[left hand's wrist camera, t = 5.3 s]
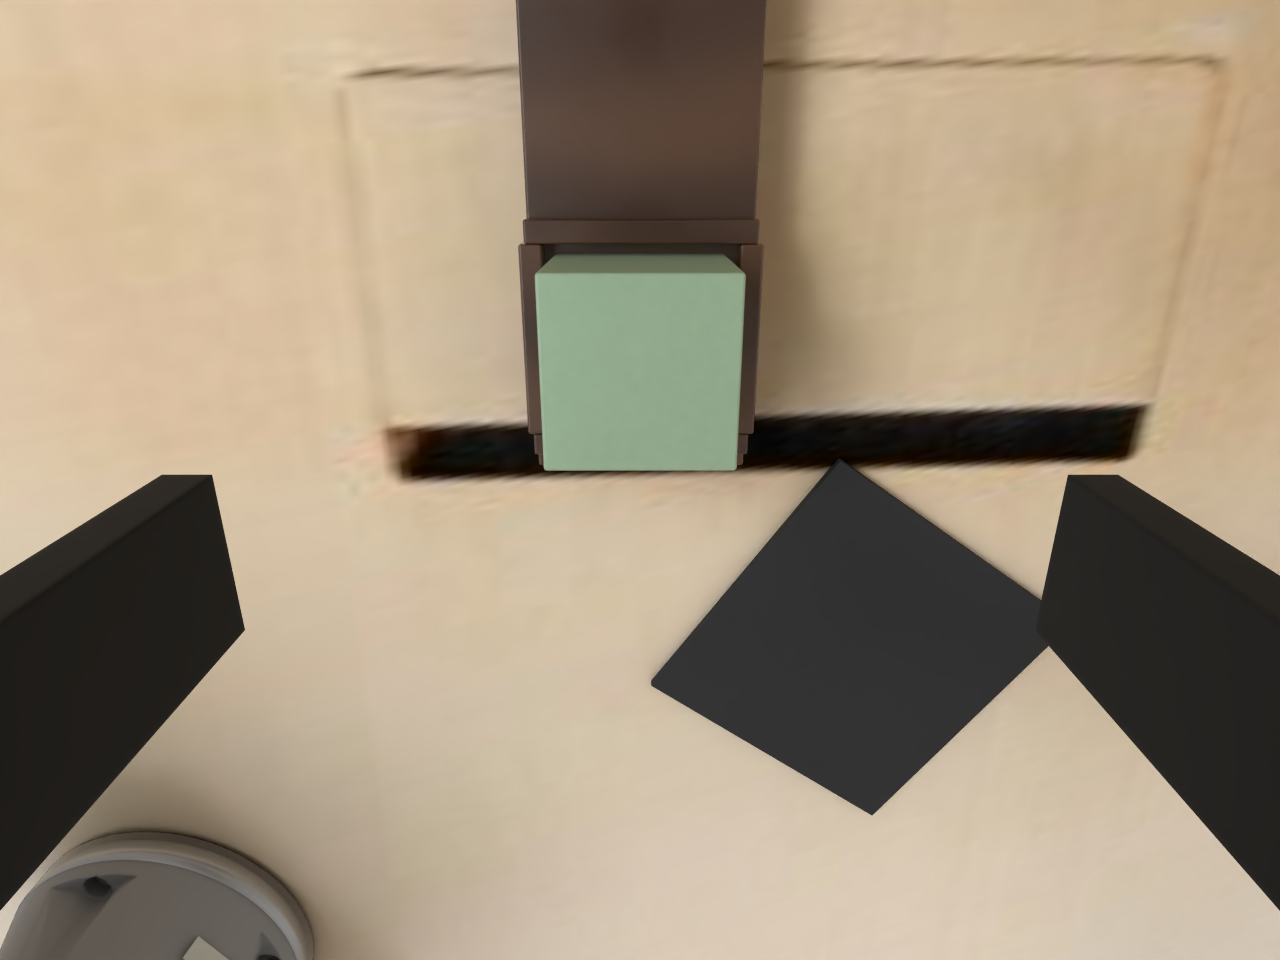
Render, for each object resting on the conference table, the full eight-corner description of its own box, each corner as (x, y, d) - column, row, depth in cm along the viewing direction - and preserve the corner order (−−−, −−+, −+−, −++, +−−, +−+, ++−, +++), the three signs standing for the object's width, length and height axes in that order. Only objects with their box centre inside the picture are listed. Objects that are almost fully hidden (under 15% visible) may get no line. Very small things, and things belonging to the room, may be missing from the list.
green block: (718, 416, 30) (736, 471, 24) (561, 416, 30) (543, 471, 24) (724, 253, 28) (746, 273, 22) (555, 253, 28) (534, 273, 22)
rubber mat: (870, 810, 41) (872, 815, 40) (650, 680, 38) (650, 685, 37) (1067, 619, 37) (1072, 623, 36) (838, 457, 34) (840, 460, 33)
